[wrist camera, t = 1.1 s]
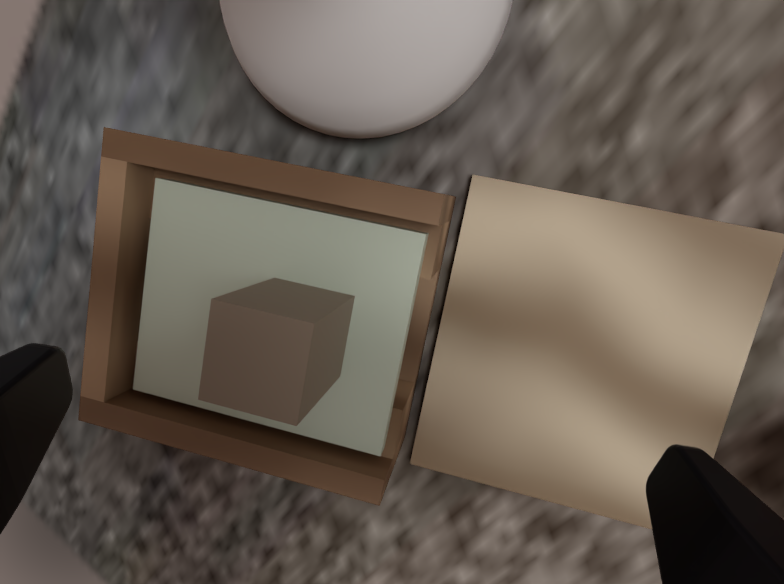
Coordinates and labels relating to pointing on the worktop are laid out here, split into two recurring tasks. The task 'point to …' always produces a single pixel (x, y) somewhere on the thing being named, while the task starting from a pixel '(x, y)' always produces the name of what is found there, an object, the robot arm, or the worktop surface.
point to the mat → (587, 343)
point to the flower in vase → (363, 58)
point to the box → (125, 293)
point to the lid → (276, 312)
